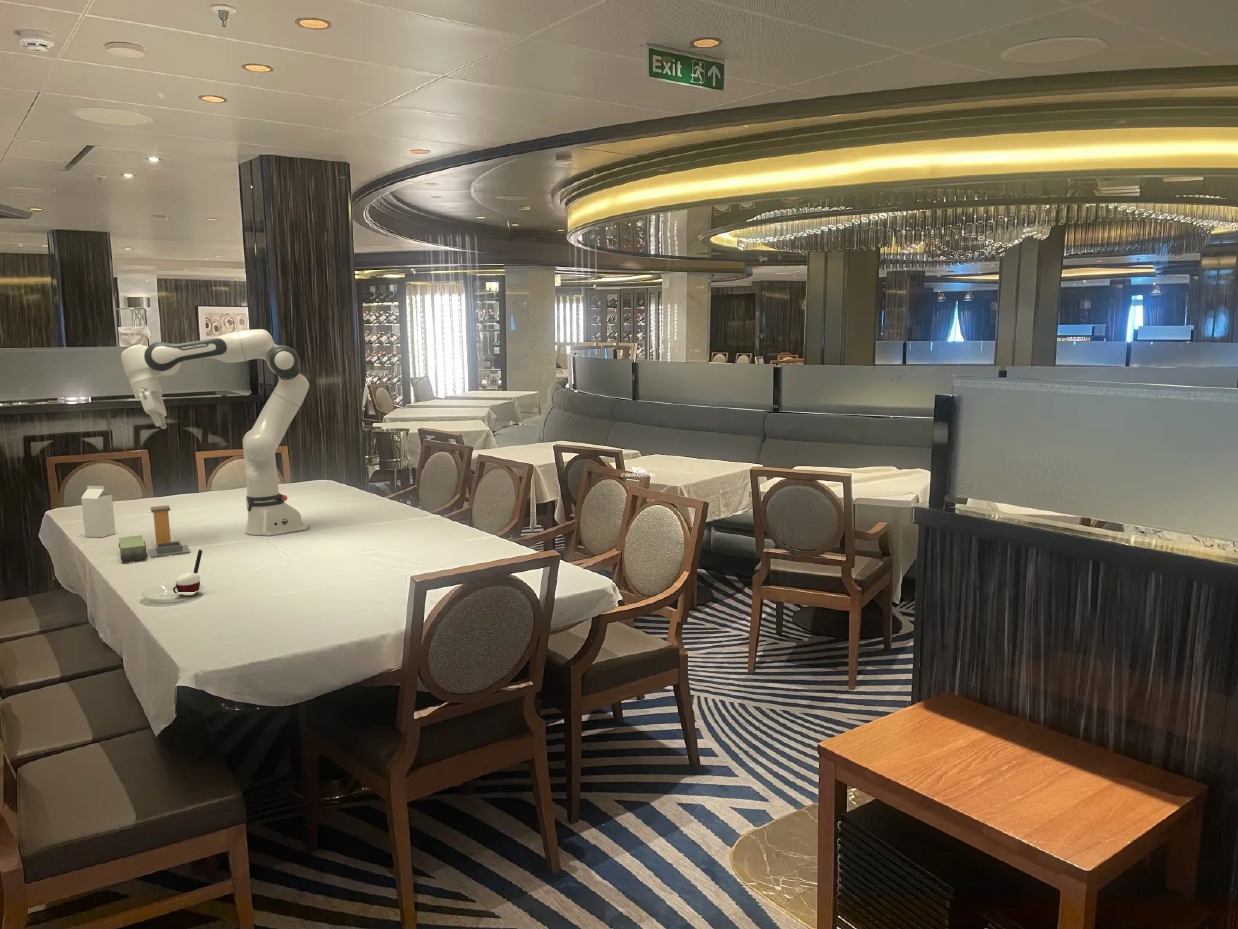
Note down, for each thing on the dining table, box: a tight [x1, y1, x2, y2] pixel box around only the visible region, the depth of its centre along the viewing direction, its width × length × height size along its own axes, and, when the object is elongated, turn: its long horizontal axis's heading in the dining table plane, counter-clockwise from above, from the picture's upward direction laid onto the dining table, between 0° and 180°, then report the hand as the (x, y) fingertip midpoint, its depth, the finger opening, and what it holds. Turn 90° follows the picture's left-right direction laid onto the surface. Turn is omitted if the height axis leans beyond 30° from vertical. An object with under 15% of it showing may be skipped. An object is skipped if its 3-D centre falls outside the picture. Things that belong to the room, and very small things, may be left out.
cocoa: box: [172, 549, 203, 594], centre depth 249 cm, size 10×6×12 cm, turn 128°
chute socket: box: [148, 540, 191, 559], centre depth 299 cm, size 12×12×3 cm
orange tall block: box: [150, 505, 172, 545], centre depth 307 cm, size 6×6×14 cm
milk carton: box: [80, 485, 117, 538], centre depth 323 cm, size 7×7×19 cm
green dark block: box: [118, 534, 148, 564], centre depth 294 cm, size 8×20×5 cm, turn 32°
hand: (161, 427), depth 306 cm, fingers open, 8 cm apart
